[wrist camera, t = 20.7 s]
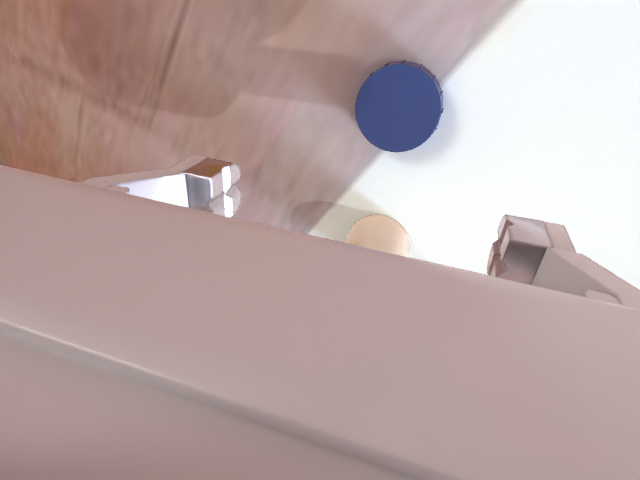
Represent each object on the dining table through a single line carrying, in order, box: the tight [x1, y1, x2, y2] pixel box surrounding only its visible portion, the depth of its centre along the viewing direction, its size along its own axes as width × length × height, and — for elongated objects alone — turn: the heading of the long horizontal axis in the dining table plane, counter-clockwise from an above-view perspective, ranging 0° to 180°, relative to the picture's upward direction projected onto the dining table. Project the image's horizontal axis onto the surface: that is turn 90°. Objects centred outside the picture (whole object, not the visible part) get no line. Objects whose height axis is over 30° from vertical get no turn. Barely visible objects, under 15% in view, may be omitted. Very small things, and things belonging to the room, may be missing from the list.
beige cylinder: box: [344, 215, 410, 257], centre depth 31 cm, size 5×5×11 cm
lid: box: [355, 60, 443, 152], centre depth 29 cm, size 6×6×2 cm
